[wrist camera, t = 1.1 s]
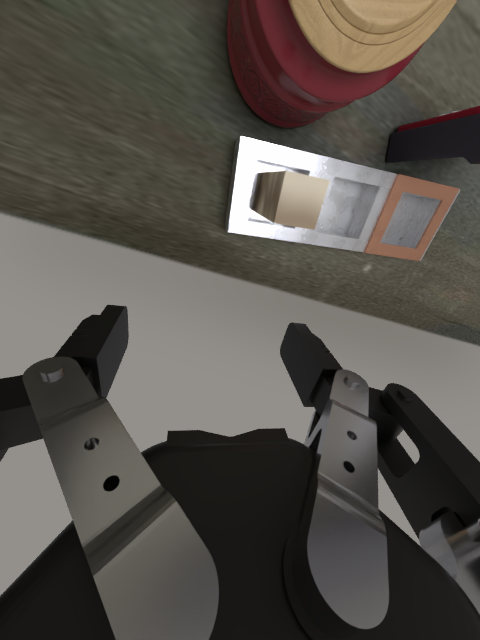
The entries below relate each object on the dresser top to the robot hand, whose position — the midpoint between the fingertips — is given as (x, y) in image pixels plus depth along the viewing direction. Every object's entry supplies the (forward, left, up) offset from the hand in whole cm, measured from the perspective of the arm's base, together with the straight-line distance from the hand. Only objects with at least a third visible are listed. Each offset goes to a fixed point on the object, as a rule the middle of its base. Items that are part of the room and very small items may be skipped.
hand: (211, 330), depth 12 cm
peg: (-6, +8, -22) cm, 24 cm away
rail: (-6, +17, -23) cm, 29 cm away
